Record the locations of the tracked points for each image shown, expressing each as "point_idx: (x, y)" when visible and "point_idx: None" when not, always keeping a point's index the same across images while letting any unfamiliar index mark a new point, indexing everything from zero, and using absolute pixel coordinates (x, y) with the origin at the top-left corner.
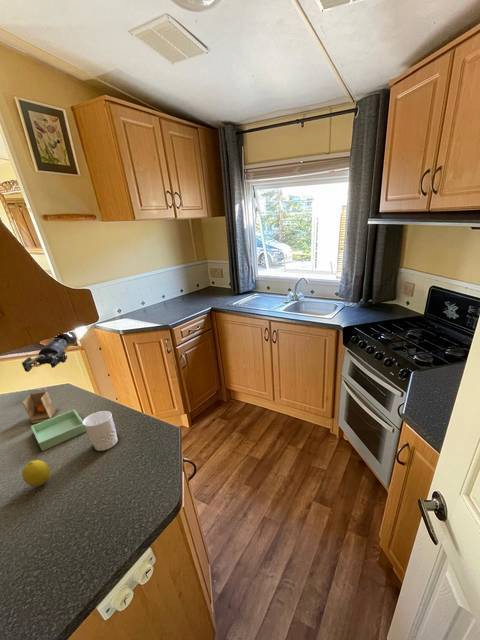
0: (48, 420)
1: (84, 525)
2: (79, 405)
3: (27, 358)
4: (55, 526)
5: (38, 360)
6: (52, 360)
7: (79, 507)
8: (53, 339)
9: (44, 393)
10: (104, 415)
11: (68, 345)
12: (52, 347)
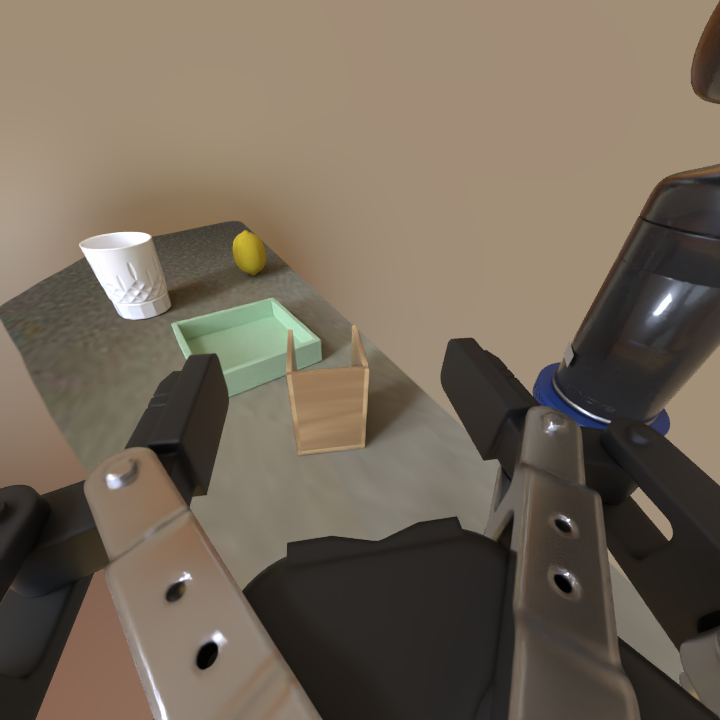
0: (278, 352)
1: (198, 247)
2: None
3: None
4: (226, 249)
5: (487, 539)
6: (188, 407)
7: (203, 255)
8: None
9: (301, 377)
10: (99, 261)
11: None
12: None
